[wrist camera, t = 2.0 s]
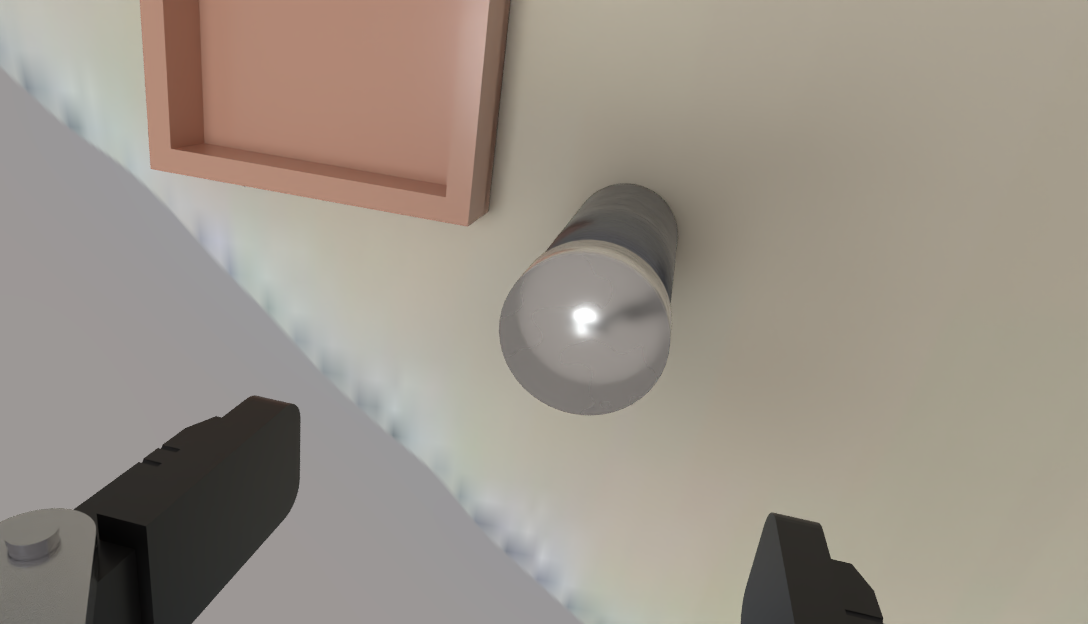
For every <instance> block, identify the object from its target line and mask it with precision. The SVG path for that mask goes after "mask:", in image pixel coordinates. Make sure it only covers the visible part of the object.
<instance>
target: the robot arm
mask: <svg viewBox="0 0 1088 624" xmlns="http://www.w3.org/2000/svg"><path fill="white" fill-rule="evenodd" d="M299 480H300V412H299V409H298V407H297V406H296V405H295V404H291V403H286V402H282V401H277V400H273V399H268V398H264V397H260V396H251V397H249V398H247V399H246V400H244V401H243V402H242V403H241V404H239V405H238V406H236V407H235V408H234V409H233V410H231V411H230V412H229V413H228V414H226V415H225V416H224V417H222V418H221V417H217V416H216V417H213V418H211V419H208V420H205V421H203V422H200V423H198V424H195V425H192V426H190V427H187V428H185V429H184V430H182V431H181V432H179V433H178V434H177V435H176V436H174V437H173V438H171V439H170V440H169V441H167V442H166V443H164V444H163V446H162V448H161V449H159V448H158V449H156V450H155V451H153V452H152V453H151V454H149V455H148V456H147V457H145V458H144V460H143V462H142V463H140V462H138V463H137V464H136V465H134V466H133V467H132V468H130V469H129V470H127V471H126V472H125V473H123V474H122V475H120V476H119V477H118V478H116V479H115V480H114V481H112V482H111V483H110V484H108V485H107V486H105V487H104V488H103V489H101V490H100V491H99V492H97V493H96V494H94V495H93V496H92V497H90V498H89V499H88V500H86V501H85V502H83V503H82V504H81V505H79V506H78V507H77V508H75V509H74V510H72V509H63V508H56V509H55V508H54V509H53V508H51V509H41V510H35V511H31V512H27V513H23V514H19V515H16V516H13V517H11V518H8V519H6V520H4V521H1V522H0V624H192V623H193V621H194V620H195V619H196V618H197V617H198V616H199V615H200V614H201V612H202V611H203V610H204V609H205V608H206V607H207V606H208V605H209V603H210V602H211V601H212V600H213V599H214V598H215V597H216V596H217V594H218V593H219V592H220V591H221V590H222V589H223V588H224V586H225V585H226V584H227V583H228V582H229V581H230V580H231V579H232V577H233V576H234V575H235V574H236V573H237V572H238V571H239V569H240V568H241V567H242V566H243V565H244V564H245V563H246V562H247V560H248V559H249V558H250V557H251V556H252V555H253V554H254V553H255V551H256V550H257V549H258V548H259V547H260V546H261V545H262V544H263V542H264V541H265V540H266V539H267V538H268V537H269V536H270V534H271V533H272V532H273V531H274V530H275V529H276V528H277V527H278V526H279V524H280V523H281V522H282V521H283V520H284V519H285V517H286V516H287V515H288V513H289V512H290V510H291V508H292V506H293V504H294V502H295V499H296V496H297V492H298V488H299ZM741 624H883V616H882V613H881V610H880V608H879V605H878V602H877V599H876V596H875V593H874V590H873V589H872V588H871V587H870V586H869V584H868V583H867V582H866V581H865V580H864V578H863V577H862V576H861V575H860V574H859V572H858V571H857V570H856V569H855V568H854V566H853V565H852V564H850V563H846V562H841V561H837V560H833V559H831V557H830V554H829V550H828V547H827V543H826V540H825V536H824V532H823V529H822V526H821V525H820V524H819V523H817V522H812V521H808V520H803V519H799V518H794V517H790V516H785V515H781V514H777V513H770V514H769V515H768V517H767V519H766V522H765V525H764V528H763V531H762V535H761V538H760V542H759V545H758V548H757V552H756V555H755V558H754V562H753V565H752V569H751V572H750V575H749V579H748V582H747V586H746V589H745V593H744V598H743V605H742V613H741Z"/></svg>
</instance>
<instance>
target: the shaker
mask: <svg viewBox="0 0 1088 624" xmlns="http://www.w3.org/2000/svg"><path fill="white" fill-rule="evenodd" d="M677 240H678V230H677V224H676V220H675V217H674V215H673V213H672V211H671V209H670V207H669V206H668V205H667V203H666V202H665V201H664V200H663V199H662V198H661V197H660V196H659V195H657V194H656V193H655V192H653V191H651V190H649V189H648V188H645V187H642V186H639V185H635V184H615V185H611V186H608V187H605V188H603V189H601V190H599V191H597V192H596V193H594V194H593V195H592V196H591V197H589V198H588V199H587V201H586V202H585V203H584V204H583V205H582V206H581V208H580V209H579V210H578V212H577V213H576V214H575V215H574V217H573V218H572V219H571V220H570V222H569V223H568V224H567V225H566V227H565V228H564V229H563V230H562V232H561V233H560V234H559V235H558V237H557V238H556V239H555V240H554V242H553V243H552V244H551V245H550V247H549V248H548V249H547V251H546V252H545V253H544V254H542V255H541V256H540V257H539V258H537V259H536V260H535V261H534V262H533V263H532V264H531V265H530V266H529V268H528V269H527V270H526V271H525V272H524V274H523V275H522V276H521V277H520V279H519V280H518V281H517V282H516V284H515V285H514V286H513V288H512V289H511V291H510V292H509V294H508V296H507V298H506V300H505V302H504V305H503V308H502V312H501V317H500V325H499V335H500V343H501V348H502V352H503V355H504V358H505V360H506V363H507V365H508V367H509V368H510V370H511V372H512V373H513V375H514V376H515V378H516V379H517V381H518V382H519V383H520V384H521V385H522V386H523V387H524V388H525V389H526V390H527V391H528V392H529V393H530V394H531V395H533V396H534V397H535V398H537V399H538V400H540V401H541V402H543V403H545V404H547V405H549V406H551V407H553V408H556V409H558V410H561V411H564V412H568V413H573V414H579V415H600V414H606V413H611V412H615V411H617V410H620V409H623V408H625V407H627V406H629V405H631V404H633V403H635V402H636V401H637V400H639V399H640V398H642V397H643V396H644V395H645V394H646V393H647V392H648V391H649V390H650V389H651V388H652V387H653V386H654V385H655V383H656V382H657V380H658V379H659V377H660V376H661V374H662V372H663V369H664V367H665V365H666V361H667V358H668V354H669V347H670V337H671V327H672V311H671V304H670V303H671V294H672V285H673V276H674V267H675V258H676V249H677Z"/></svg>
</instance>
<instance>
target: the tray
mask: <svg viewBox="0 0 1088 624" xmlns="http://www.w3.org/2000/svg"><path fill="white" fill-rule="evenodd" d="M510 1H511V0H140V10H141V25H142V41H143V56H144V72H145V87H146V103H147V118H148V134H149V149H150V165H151V169H154V170H160V171H165V172H171V173H176V174H182V175H187V176H193V177H198V178H204V179H209V180H215V181H220V182H226V183H231V184H237V185H242V186H248V187H253V188H259V189H264V190H270V191H275V192H281V193H286V194H292V195H297V196H303V197H308V198H314V199H319V200H325V201H330V202H336V203H342V204H347V205H353V206H358V207H364V208H369V209H375V210H380V211H386V212H391V213H397V214H402V215H408V216H413V217H419V218H424V219H430V220H435V221H441V222H446V223H452V224H457V225H463V226H469V225H470V224H472V223H473V222H475V221H476V220H477V219H479V218H480V217H481V216H483V215H484V214H486V213H487V212H488V209H489V200H490V190H491V181H492V171H493V162H494V152H495V143H496V133H497V124H498V114H499V105H500V95H501V86H502V76H503V67H504V58H505V48H506V39H507V29H508V20H509V10H510Z"/></svg>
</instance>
